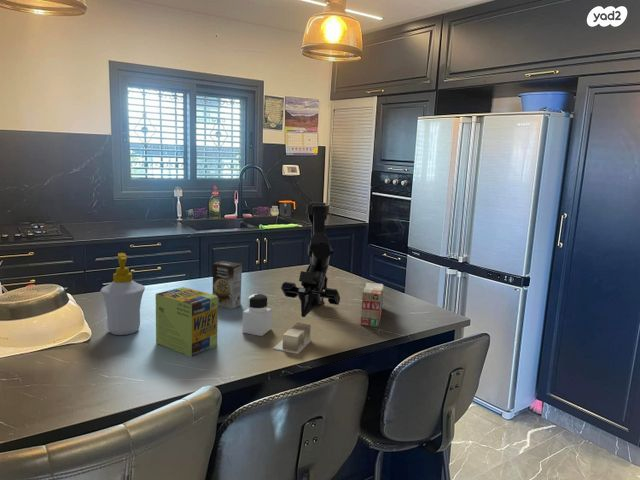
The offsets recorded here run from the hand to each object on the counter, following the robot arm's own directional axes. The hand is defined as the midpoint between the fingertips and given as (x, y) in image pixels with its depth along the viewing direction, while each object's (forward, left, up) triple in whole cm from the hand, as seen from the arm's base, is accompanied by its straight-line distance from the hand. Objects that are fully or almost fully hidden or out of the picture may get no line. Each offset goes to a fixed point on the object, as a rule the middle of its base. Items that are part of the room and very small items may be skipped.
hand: (302, 316), depth 147 cm
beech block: (0, +1, -5) cm, 5 cm away
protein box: (-26, -24, -8) cm, 36 cm away
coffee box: (-41, +11, -8) cm, 43 cm away
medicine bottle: (-16, -3, -8) cm, 18 cm away
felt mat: (0, -5, -8) cm, 9 cm away
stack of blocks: (+9, +34, -8) cm, 36 cm away
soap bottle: (-49, -28, -8) cm, 56 cm away
